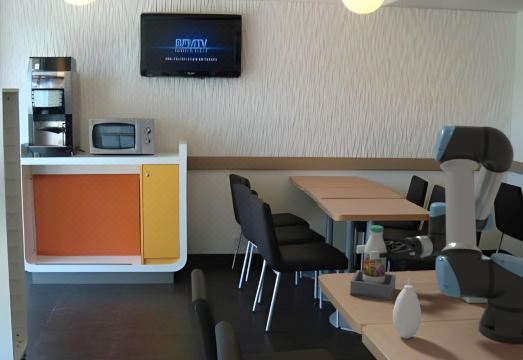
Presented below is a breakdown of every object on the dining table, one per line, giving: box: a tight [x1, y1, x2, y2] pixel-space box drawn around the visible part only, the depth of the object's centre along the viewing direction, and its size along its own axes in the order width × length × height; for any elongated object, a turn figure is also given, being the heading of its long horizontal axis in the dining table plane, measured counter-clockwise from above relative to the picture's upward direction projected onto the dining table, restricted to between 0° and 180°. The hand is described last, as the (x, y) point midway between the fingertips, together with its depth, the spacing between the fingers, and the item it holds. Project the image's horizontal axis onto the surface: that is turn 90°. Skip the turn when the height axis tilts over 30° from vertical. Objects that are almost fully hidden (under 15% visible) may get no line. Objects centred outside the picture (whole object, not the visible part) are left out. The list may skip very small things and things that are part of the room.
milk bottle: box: [362, 224, 387, 284], centre depth 208 cm, size 8×8×20 cm
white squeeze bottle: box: [392, 276, 422, 339], centre depth 169 cm, size 8×8×18 cm
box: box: [349, 269, 397, 301], centre depth 209 cm, size 14×14×5 cm
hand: (363, 252), depth 206 cm, fingers closed on milk bottle, 8 cm apart
